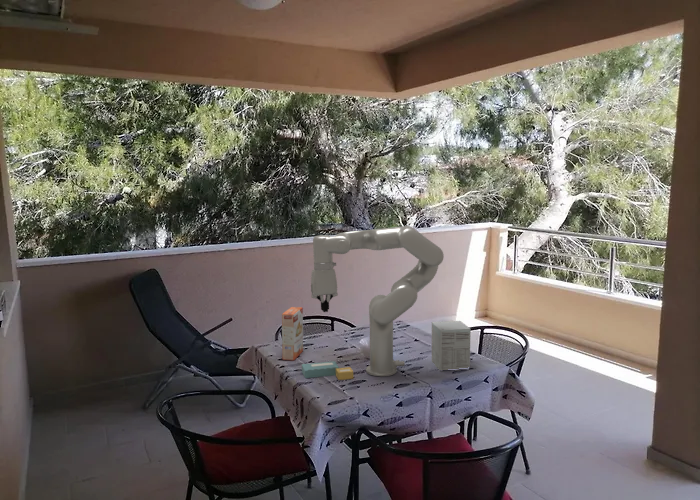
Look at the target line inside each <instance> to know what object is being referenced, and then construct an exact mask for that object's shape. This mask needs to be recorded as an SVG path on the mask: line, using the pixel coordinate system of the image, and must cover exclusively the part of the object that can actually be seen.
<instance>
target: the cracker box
mask: <svg viewBox="0 0 700 500" xmlns="http://www.w3.org/2000/svg"><path fill="white" fill-rule="evenodd" d="M303 309H304V308H303V307H301V306H290V307H289V308H288V309H286V310H285V311H284V312H283V313H281V345H282V346H281V347H282V349H281V352H282V353H281V356H282V360H283V361H295V360H296V359H297V358H298V357H299V356H300V355H301V354H302V353H303V351H304V322H303V321H304V319H303V318H304V314H303V312H304V311H303Z"/></svg>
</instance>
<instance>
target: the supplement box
mask: <svg viewBox="0 0 700 500" xmlns="http://www.w3.org/2000/svg"><path fill="white" fill-rule="evenodd" d="M471 332H472V331H471V327H469V326H468V325H466V324H465V323H464V322H462V321H461V320H450V321H449V320H448V321H432V322H431V362H432V364H433V363H434V364H435V365H434V364H433V365H434V367H436V369H439V370H448V369H459V368H468V367H471ZM439 370H438V371H439Z"/></svg>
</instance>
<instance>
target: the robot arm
mask: <svg viewBox="0 0 700 500" xmlns="http://www.w3.org/2000/svg"><path fill="white" fill-rule="evenodd" d="M312 248H313V249H312V250H313V269H312V270H311V276H310V293H311V296H310V297H311V298H312V299H315V300H316V299H317V300H319V302H320V310H321V311H322V312H323V313H328V312H329V310H330V302H331V300H332V298H335V297H338V295H339V294H338V281H337V280H338V279H337V274H336V270H335V268H334V267H336V266H337V262H334V261H333V254H336V255H344V254H348V253H349V252H350V251H352V250H365V249H366V250H371V251H384V250H392V249H393V250H394V249H403V250H406V251H407V252H408V253H409V254H411V255H412V256H413V257H415V258H416V259H418V261H417V264H416V265H415V266H414V267H413V268H412V269H411V270H410V271H408V272H407V273H406V274H405V275H404V276H402V277H401V278H399V279H398V280H397V281H395V282H394V283H393V284H392V285H391V288H390V292H389V293H388V294H387V295H384V294H377V295H375V296H374V297H372V298H371V300H370V301H369V304H368V315H369V316H368V317H369V318H368V319H369V365H368V366H367V367H366V368H365V371H366V373H367V374H368V375H371V376H374V377H390V376H393V375H395V374H397V372H398V369H397V368H398V367H404V366H405V361H403V360H401V361H400V359H396V360H394V321H395V320H397V319H398V318H399V317H401V316H402V315H403V314H405V313H406V312H407V311H408V310H409V309H410V308H411V309H412V307H413V306H414V304H415V303H416V301H417V300H418V293H419V292H420V291H422V289H424V288H425V287H426V286H427V285H429V284H430V283H431V282H432V280H433V279H434V278H435V277H436V274H437V271H438V269H439V266H440V265H441V264H442V263H443V260H444V251H443V249H441V248H440V247H439V246H438V245H437V244H435V243H434V242H432V241H431V240H430V239H429V238H428V237H426V236H424V235H423V234H422V233H421V232H420V231H418V230H417V229H415V228H414V227H412V226H409V225H402V226H395V227H384V228H375V229H373V228H372V229H367V230H356V231H355V230H354V231H346V232H345V231H344V232H340V233H337V234H335V235H334V236H330V235H325V234H322V235H320V234H319V235H315V236H313V238H312ZM324 295H325V298H324Z"/></svg>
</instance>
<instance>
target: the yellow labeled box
mask: <svg viewBox="0 0 700 500" xmlns="http://www.w3.org/2000/svg"><path fill="white" fill-rule="evenodd" d="M335 376H336V378H337V380H338V381H344V380H345V381H346V380H352V379H353V380H354V370H353V369H352V368H351V366H348V367H346V366H345V367H339V368H336V375H335Z"/></svg>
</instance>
